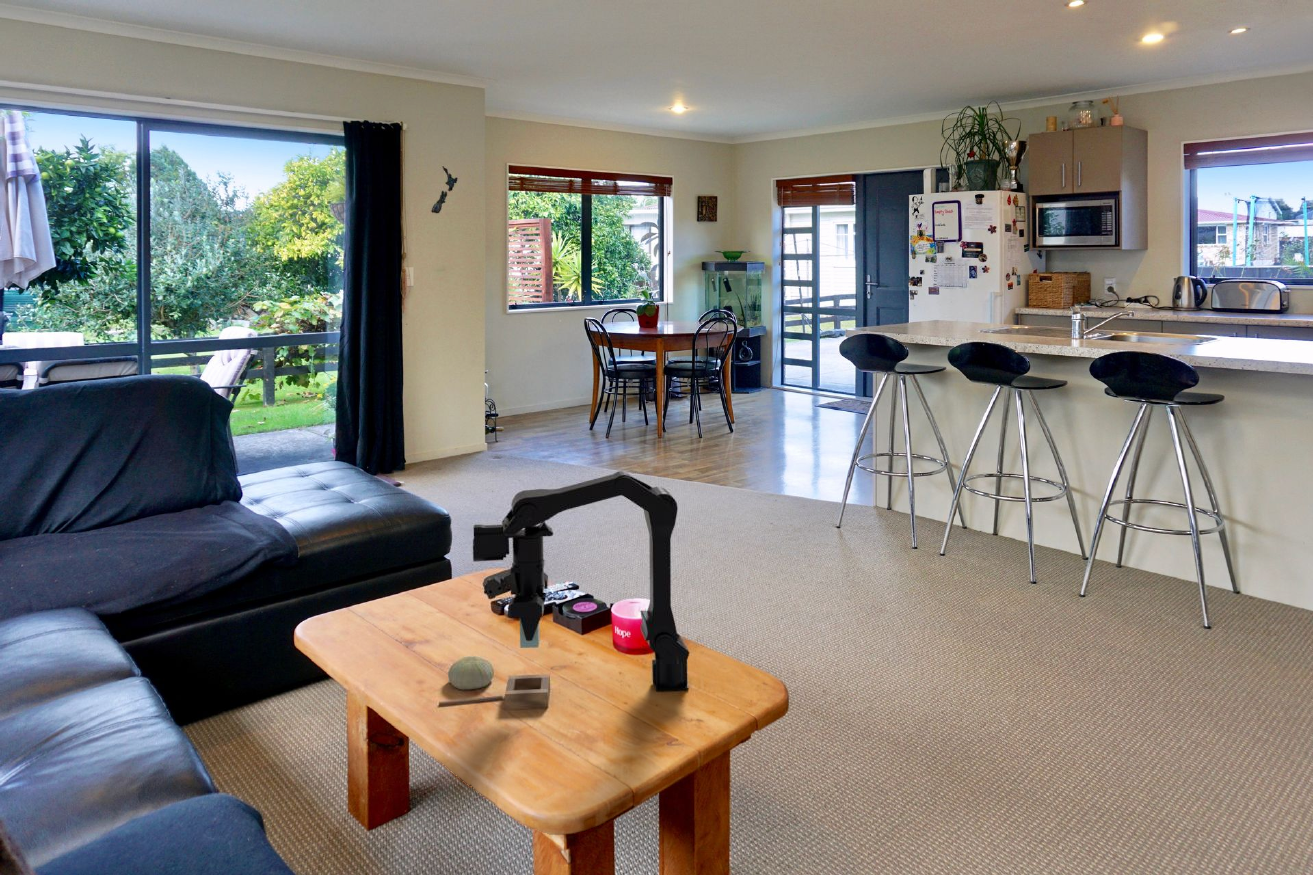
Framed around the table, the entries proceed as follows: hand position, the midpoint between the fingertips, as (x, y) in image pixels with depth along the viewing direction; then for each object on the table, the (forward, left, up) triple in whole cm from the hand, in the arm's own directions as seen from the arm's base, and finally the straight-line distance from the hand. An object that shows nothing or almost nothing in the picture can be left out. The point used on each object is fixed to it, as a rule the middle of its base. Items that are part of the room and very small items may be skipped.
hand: (530, 636), depth 180 cm
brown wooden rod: (+12, +1, -13) cm, 17 cm away
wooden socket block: (+1, +1, -13) cm, 13 cm away
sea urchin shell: (+13, -8, -13) cm, 20 cm away
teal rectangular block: (0, 0, -2) cm, 2 cm away
